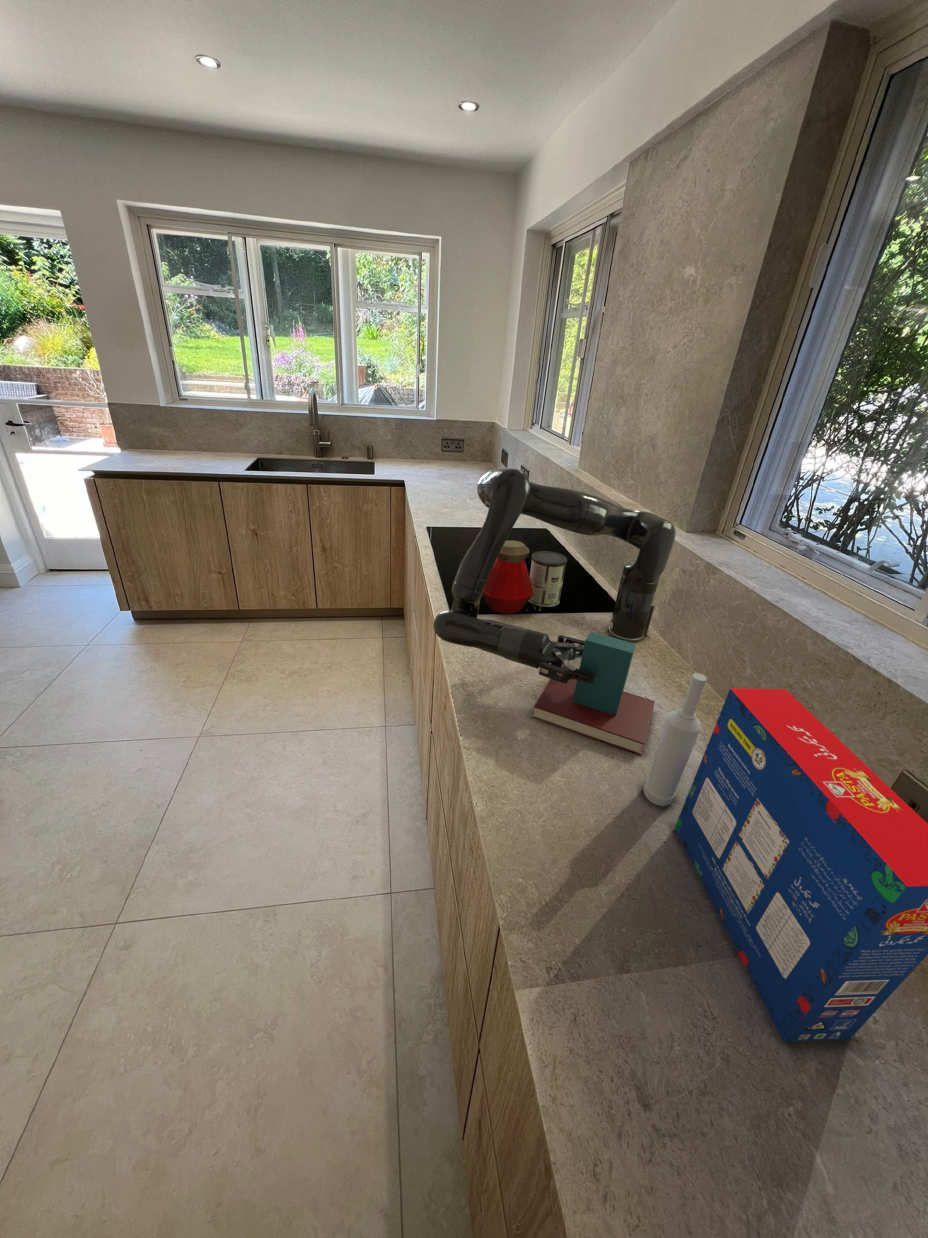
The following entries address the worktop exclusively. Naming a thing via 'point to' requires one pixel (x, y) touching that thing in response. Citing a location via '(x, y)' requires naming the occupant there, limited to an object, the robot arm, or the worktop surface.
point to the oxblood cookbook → (596, 716)
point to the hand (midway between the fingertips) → (598, 668)
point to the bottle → (675, 746)
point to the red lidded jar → (509, 580)
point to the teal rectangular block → (604, 672)
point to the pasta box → (806, 865)
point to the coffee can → (547, 578)
